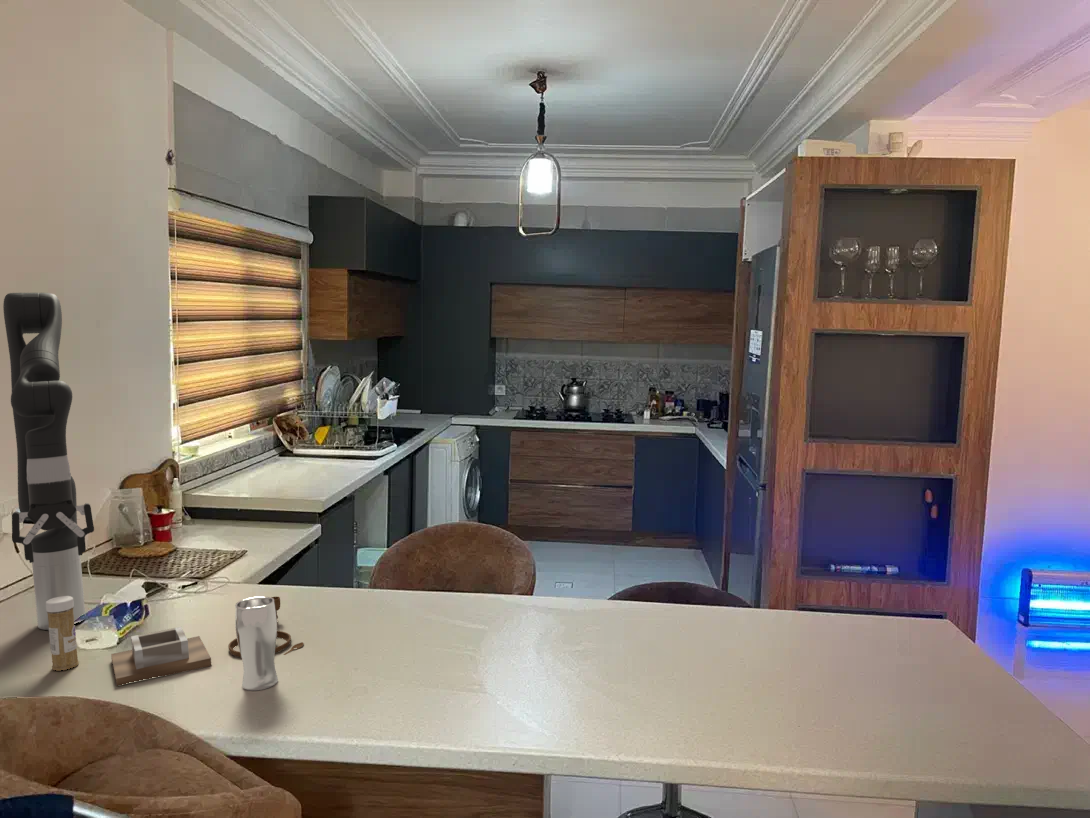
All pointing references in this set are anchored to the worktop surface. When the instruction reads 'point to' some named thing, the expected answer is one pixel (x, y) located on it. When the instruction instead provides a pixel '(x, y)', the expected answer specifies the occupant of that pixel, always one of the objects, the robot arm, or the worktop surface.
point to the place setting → (279, 635)
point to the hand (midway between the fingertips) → (56, 558)
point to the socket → (159, 656)
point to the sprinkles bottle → (62, 633)
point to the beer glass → (257, 641)
